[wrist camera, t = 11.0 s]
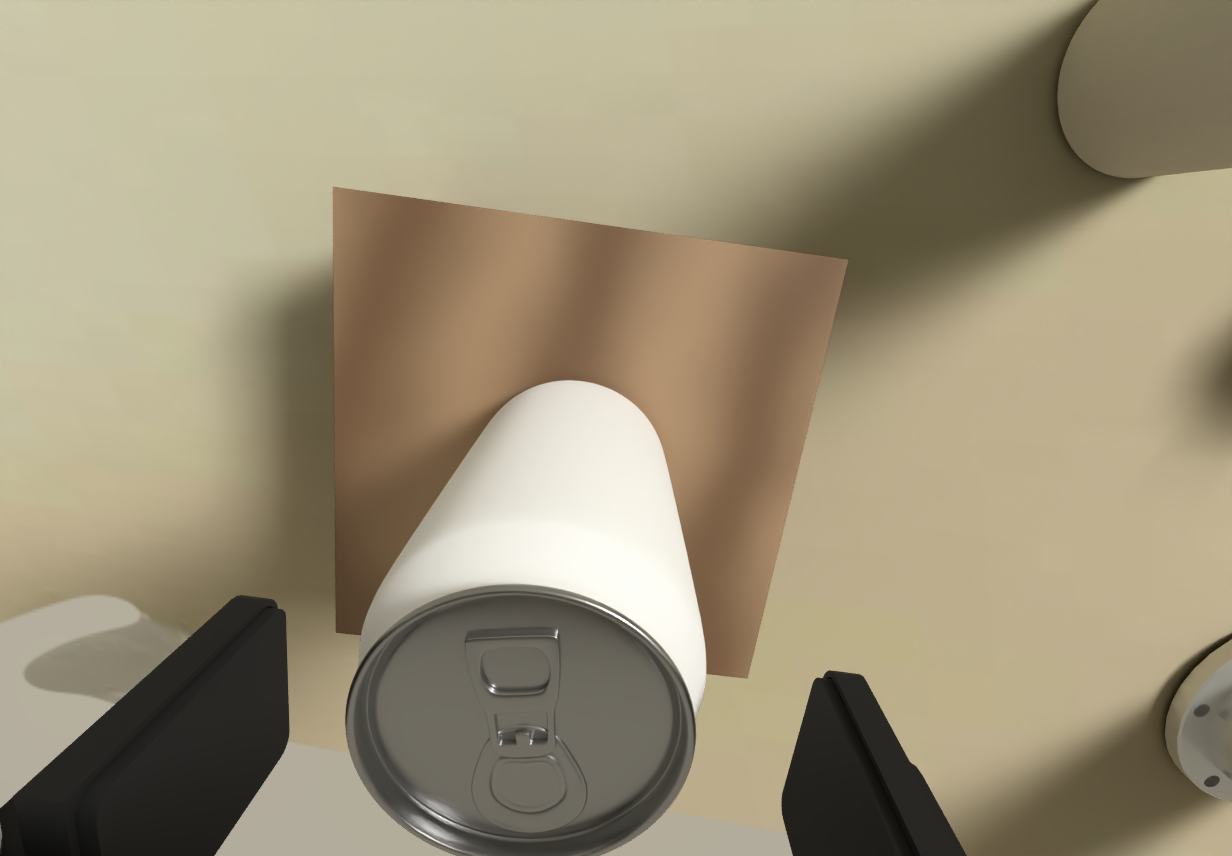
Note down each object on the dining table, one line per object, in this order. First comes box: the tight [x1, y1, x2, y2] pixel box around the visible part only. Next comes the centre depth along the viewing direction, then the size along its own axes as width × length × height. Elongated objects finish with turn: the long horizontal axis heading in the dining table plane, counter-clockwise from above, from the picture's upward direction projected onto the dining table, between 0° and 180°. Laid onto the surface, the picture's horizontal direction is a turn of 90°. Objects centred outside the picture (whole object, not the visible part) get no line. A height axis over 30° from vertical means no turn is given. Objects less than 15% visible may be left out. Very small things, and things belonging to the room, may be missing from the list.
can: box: [345, 380, 706, 856], centre depth 15 cm, size 6×6×12 cm
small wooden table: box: [333, 187, 848, 678], centre depth 25 cm, size 16×16×9 cm
